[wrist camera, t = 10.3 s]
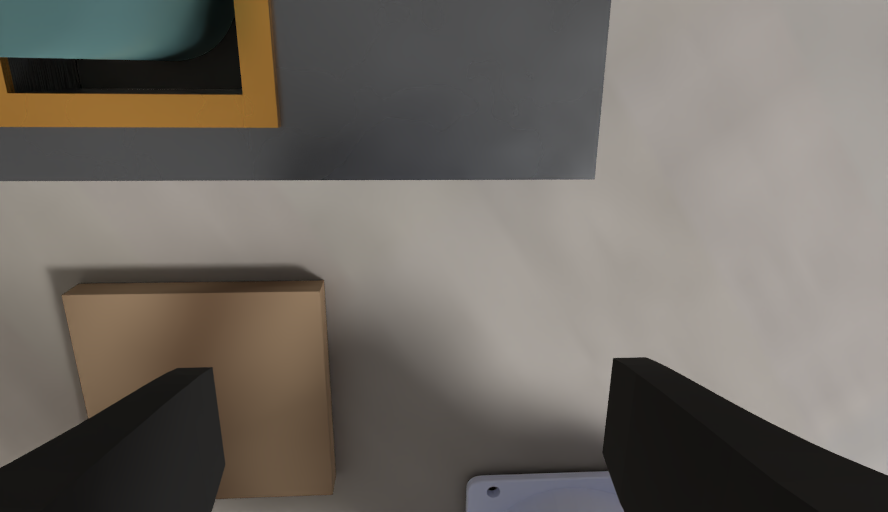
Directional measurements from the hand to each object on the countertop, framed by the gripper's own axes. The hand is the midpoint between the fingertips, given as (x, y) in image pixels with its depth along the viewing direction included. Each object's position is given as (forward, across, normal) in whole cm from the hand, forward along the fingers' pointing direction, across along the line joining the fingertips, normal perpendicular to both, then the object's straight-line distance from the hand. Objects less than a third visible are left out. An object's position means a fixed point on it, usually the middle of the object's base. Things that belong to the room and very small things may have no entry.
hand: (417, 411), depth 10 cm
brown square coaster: (+9, +7, +5) cm, 13 cm away
